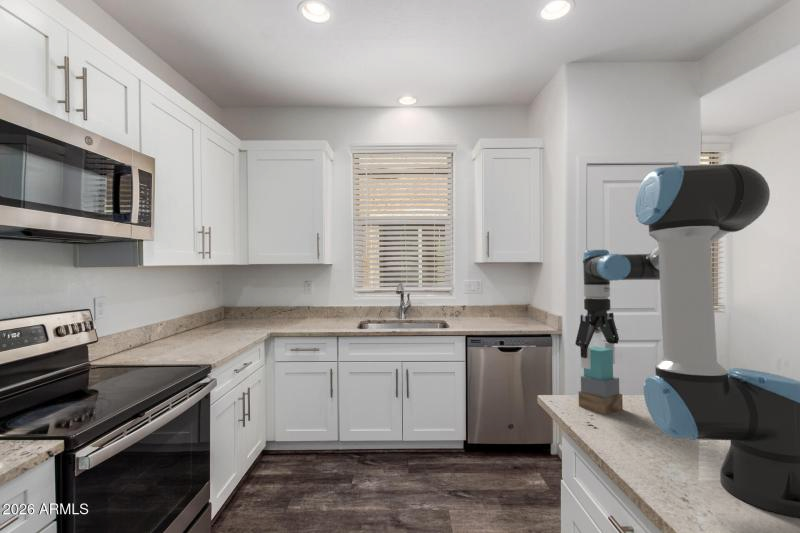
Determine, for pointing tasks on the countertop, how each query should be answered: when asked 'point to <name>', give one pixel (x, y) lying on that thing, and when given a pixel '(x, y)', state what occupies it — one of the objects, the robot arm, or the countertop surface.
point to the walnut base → (601, 403)
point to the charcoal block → (600, 386)
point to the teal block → (600, 364)
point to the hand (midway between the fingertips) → (598, 365)
